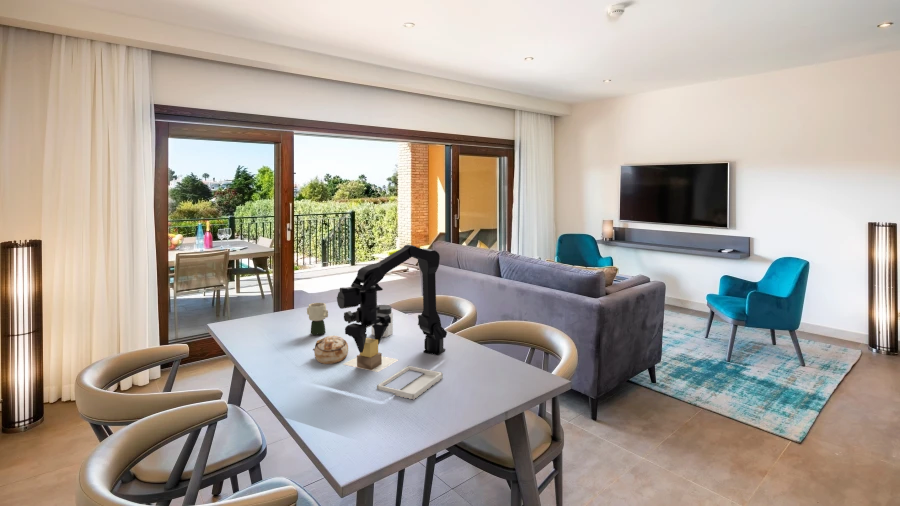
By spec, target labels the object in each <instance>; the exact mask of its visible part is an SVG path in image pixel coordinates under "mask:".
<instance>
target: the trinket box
mask: <svg viewBox="0 0 900 506" xmlns="http://www.w3.org/2000/svg"><path fill="white" fill-rule="evenodd" d="M312 351H313V352H314V356H315V357H314V358H315V359H316V361H317V362H318V363H320V364H325V365H332V364H337V363H339V362H340V363H341V362H342V361H344V359H346V357H347V356H348V353H349V345H348V342H347V341H346V340H345V339H344V338H343V337H341V336H339V335H327V336H325V337H322V338H320V339H318V340H316V342H315V345H314V348H313V349H312Z"/></svg>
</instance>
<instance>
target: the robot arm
mask: <svg viewBox="0 0 900 506" xmlns="http://www.w3.org/2000/svg"><path fill="white" fill-rule="evenodd" d="M411 258H414V259H416V260H417V264H418V267H419V269H420V271H421V274H422V306H423V307H422V308H423V309H422V312H421V314H418V315H417V319H418V320H417V321H418V322H417V326H418V327H419V329H420V330H421V331H422V333H423V335H425V338H424V345H423V346H424V350H423V351H422V352H423V353H426V354H429V355H431V354H432V355H437V356H438V355H440V354H442V353H443V352H445V351H446V348H445V347H444V340H445V338H447V334H448V331H447V330H446V329H445V328H444V327H442V321H441V318H440V315H439V314H438V311H437V285H436V283H437V281H436V280H437V279H436V272H437V270H438V269H439V267H440V258H441V257H440V253H439V252H438V251H437V250H434V249H429V248H420V247H417V246H416V245H412V244H406V245H404V246H403V247H402V248H400V249H398V250H396V251H395V252H394V253H392V254H390V255H388V256H387V257H385V258H383V259H382V260H380V261H378V262H376V263H371V264H368V265H365V266H362V267H360V268H359V269H358V271H357V274H356V277H355V278H354V279H353V282H351V285H350V286H348V287H340V288H339V291H338V293H337V296H336V302H337V306H338V307H339V309H341V310H342V309H348V308H355V307H357V308H356V311H353V312H352V311H350V310H348V311H346V312H343V320H344V321H345V322H347V324H348V325H346V326H345V327H344V334H345V335H348V336H349V337H352V338H353V340H354V342H355V345H356V347H357V349H358V352H359V354H360V353H362V352H363V349H364V345H365V340H366V338H367V329H368V328H369V327H371V328H372V327H373V328H374V334H375V336H374V339H377V340H378V345H379V344H380V342H381V341H382V338H383V337H382V336H383V334H384V332H385V330H386V328H387V326H389V323H391V317H390V316H389V315H387V314H380V313H378V314H377V310H380V307H378V306H377V305H378V292H381V291H383V290H384V289H383V287H381V286H380V285H379V283H380V282H381V281H382V280H383V279H384V277H385V275H386V274H387V273H389V272H390V271H393V270H395V268H397V267H399V266H401V264H403V263H405V262H406V261H408V260H410V259H411ZM358 306H359V307H358ZM354 322H355V323H354Z"/></svg>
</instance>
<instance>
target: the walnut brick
mask: <svg viewBox="0 0 900 506" xmlns="http://www.w3.org/2000/svg"><path fill="white" fill-rule="evenodd" d="M382 356H383V354H382V353H381V352H378V354H376V355H374V356H372V357H371V358H370V357H366V356H361V355H360V353H359V354H357V355H356V357H357V367H360V368H359V369H361V368H365V369H369V370H368V371H370V370H372V369H374V368H376V367H378V366H379V365H381V364H382ZM365 369H364V370H365Z"/></svg>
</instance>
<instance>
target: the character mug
mask: <svg viewBox="0 0 900 506" xmlns="http://www.w3.org/2000/svg"><path fill="white" fill-rule="evenodd" d="M306 314H307V315H308V319H309V321H311V323H310V334H311V335H313V336H318V335H320V334H321V335H322V334H326V325H325V319H326V318H328V317H329V310H328V309H327V304H326V303H324V302H313V303H309V304H308V306H307V308H306Z"/></svg>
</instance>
